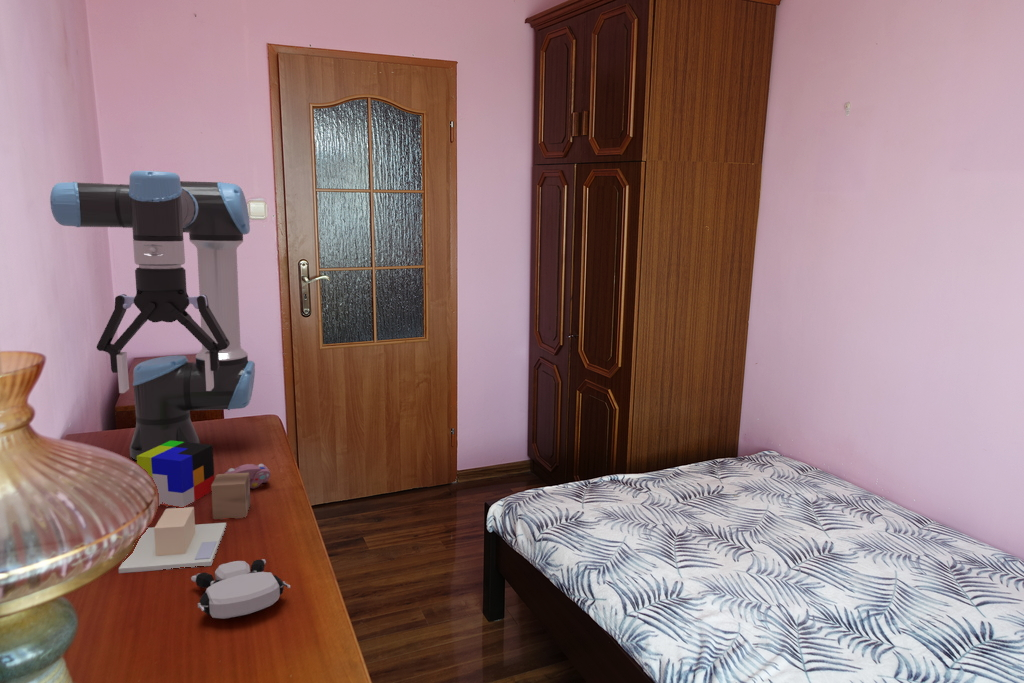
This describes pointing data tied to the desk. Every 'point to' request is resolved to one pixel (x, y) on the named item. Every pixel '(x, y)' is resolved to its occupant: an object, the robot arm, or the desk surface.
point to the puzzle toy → (180, 471)
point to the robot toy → (238, 589)
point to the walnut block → (230, 495)
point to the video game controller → (253, 473)
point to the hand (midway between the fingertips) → (167, 390)
